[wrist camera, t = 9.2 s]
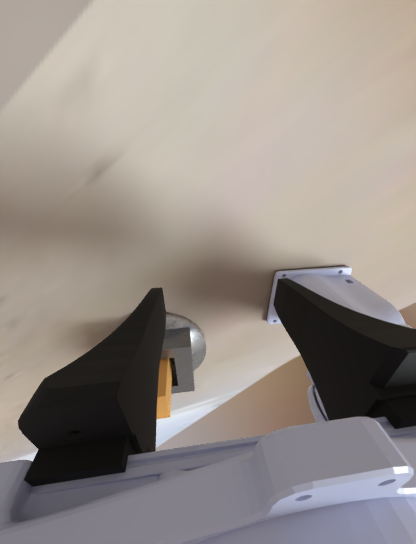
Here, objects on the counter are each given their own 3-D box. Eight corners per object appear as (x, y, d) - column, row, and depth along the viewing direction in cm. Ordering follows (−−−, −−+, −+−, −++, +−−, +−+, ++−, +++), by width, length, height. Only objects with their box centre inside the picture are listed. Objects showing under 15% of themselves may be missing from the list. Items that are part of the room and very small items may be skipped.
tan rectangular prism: (169, 339, 25) (165, 396, 19) (172, 359, 27) (170, 417, 21) (145, 342, 25) (133, 400, 19) (150, 362, 27) (141, 420, 21)
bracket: (204, 308, 25) (208, 332, 21) (206, 370, 31) (209, 396, 28) (100, 317, 24) (86, 344, 20) (123, 379, 30) (116, 408, 26)
